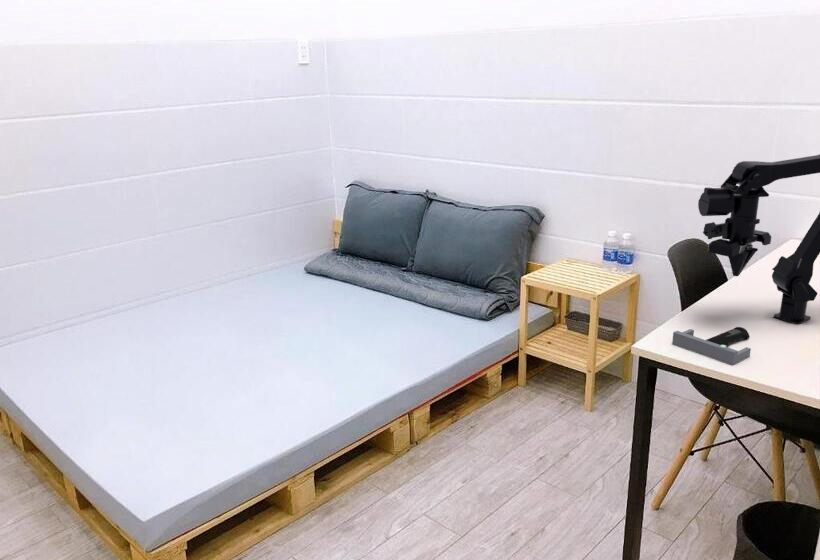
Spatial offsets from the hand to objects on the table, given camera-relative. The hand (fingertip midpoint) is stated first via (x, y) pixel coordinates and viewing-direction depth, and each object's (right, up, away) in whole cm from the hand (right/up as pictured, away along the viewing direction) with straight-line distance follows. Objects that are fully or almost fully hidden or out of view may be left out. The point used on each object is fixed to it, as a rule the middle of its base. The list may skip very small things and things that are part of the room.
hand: (735, 275), depth 170 cm
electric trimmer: (-7, -17, -10) cm, 20 cm away
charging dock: (-12, -17, -13) cm, 25 cm away
